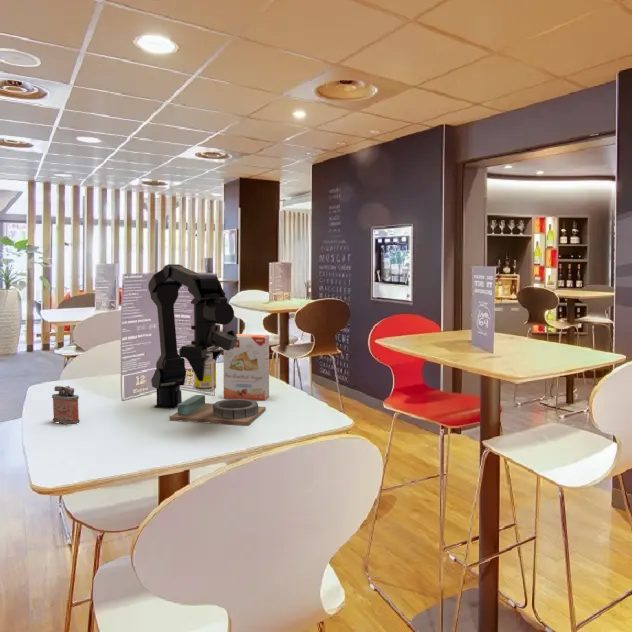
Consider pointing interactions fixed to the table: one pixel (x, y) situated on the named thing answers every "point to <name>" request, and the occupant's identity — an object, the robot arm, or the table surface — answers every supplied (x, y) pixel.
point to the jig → (218, 411)
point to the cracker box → (247, 368)
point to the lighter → (65, 405)
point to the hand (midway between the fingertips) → (205, 378)
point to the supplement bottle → (207, 375)
